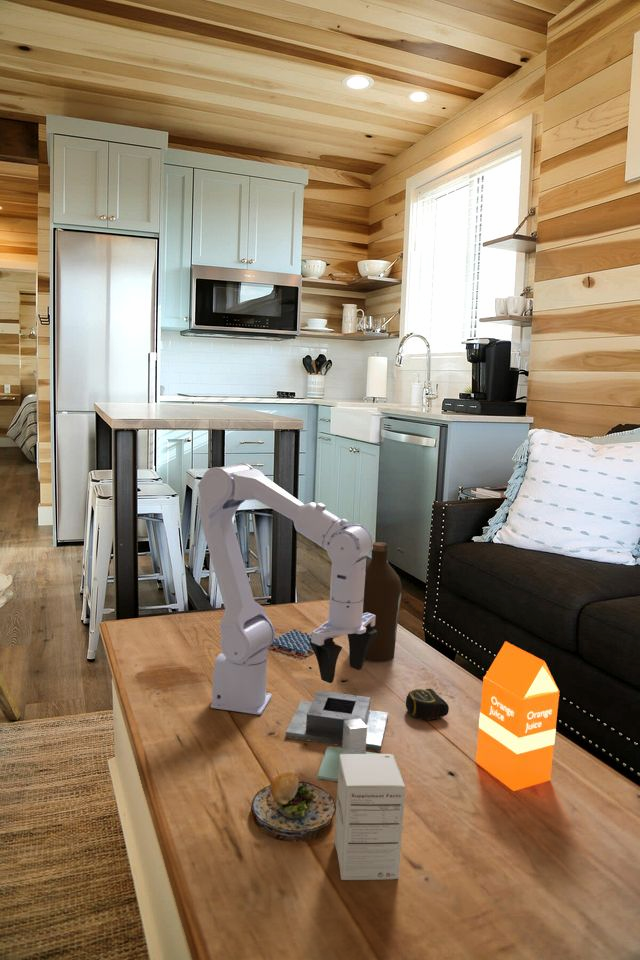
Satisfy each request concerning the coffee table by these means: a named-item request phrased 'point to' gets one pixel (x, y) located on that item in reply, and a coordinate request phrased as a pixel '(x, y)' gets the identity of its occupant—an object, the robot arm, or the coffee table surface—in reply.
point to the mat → (331, 764)
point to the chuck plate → (330, 739)
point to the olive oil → (382, 603)
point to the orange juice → (517, 719)
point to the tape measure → (426, 704)
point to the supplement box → (369, 816)
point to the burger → (291, 809)
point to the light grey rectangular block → (354, 737)
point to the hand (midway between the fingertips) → (341, 674)
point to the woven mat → (293, 644)
